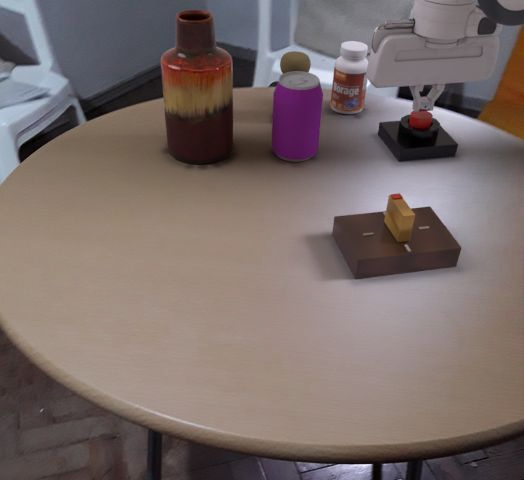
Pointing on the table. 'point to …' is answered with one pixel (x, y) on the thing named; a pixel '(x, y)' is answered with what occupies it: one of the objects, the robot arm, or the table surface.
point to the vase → (197, 92)
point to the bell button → (420, 119)
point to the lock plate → (394, 244)
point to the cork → (295, 62)
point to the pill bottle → (350, 78)
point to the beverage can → (296, 116)
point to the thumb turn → (399, 217)
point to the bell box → (416, 140)
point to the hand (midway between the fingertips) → (422, 109)
